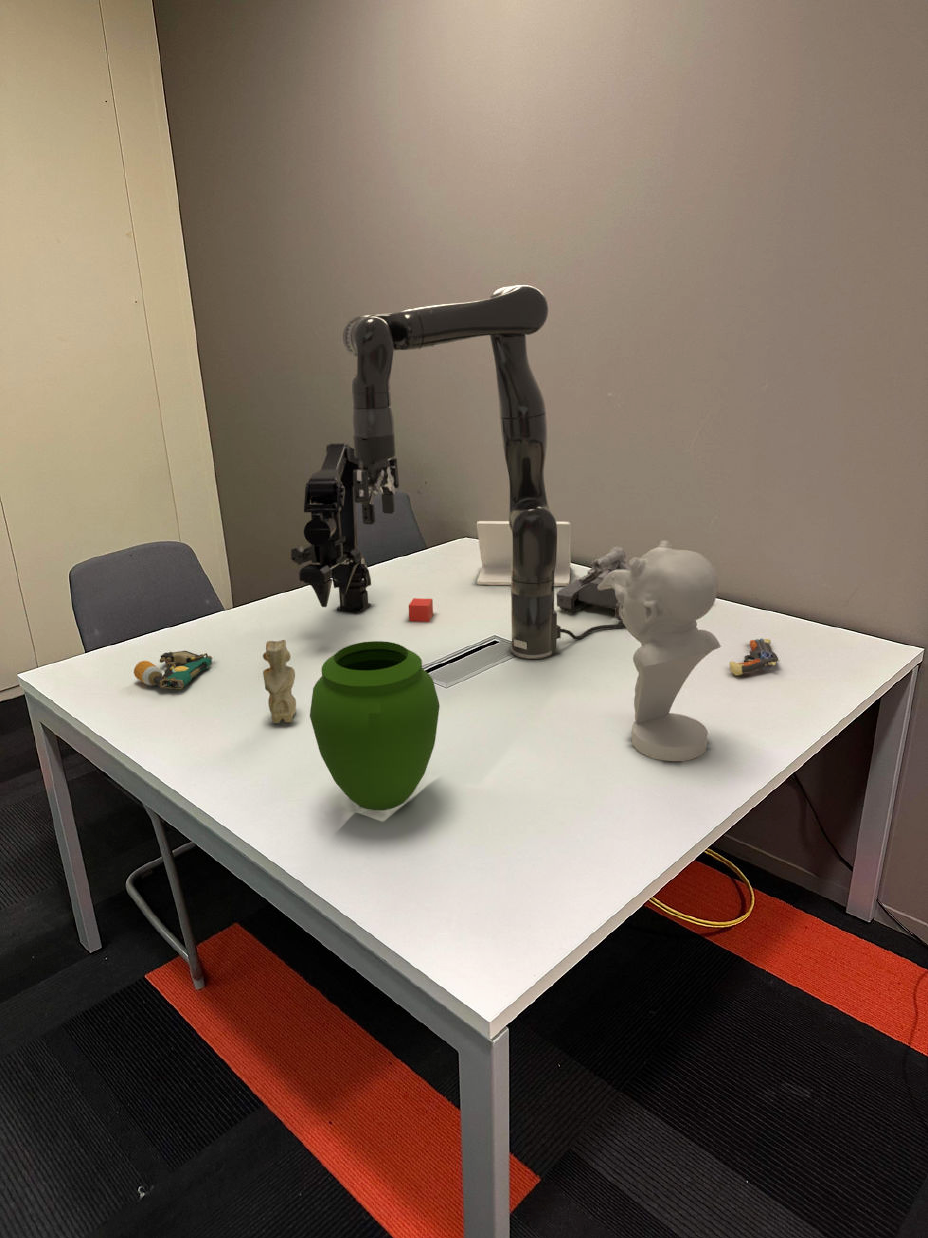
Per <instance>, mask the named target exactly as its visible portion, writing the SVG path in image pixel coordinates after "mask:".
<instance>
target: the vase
mask: <svg viewBox="0 0 928 1238" xmlns="http://www.w3.org/2000/svg"><path fill="white" fill-rule="evenodd" d="M310 702H311V703H310V710H309V718H310V722H311V727H312V729H313V733H314V736H315V740H316V744H317V747H318V750H319V753H320V757H321V759H322V760H323V762H324V764H325V766H326V768H327V770H328V771H329V773H330V775H331V777H332V779H333V781H334V783H335V784H336V785H337V786H338V787H339V789H340V790H341V791H342V792H343V793H344V794H345V796H346V797H347V798H348V799H349V800H350V801H352V802H353V803H354V804H356V805H357V806H358V807H359V808H362V809H365V810H368V811H387V810H391V809H394V808H397V807H400V806H401V805H403V804H404V803H405V802H406V801H407V800H408V799H409V798H410V797H411V796H412V795H413V794H414V793H415V790H416V789H417V787H418V785H419V784H420V782H421V780H423V777H424V776H425V773H426V771H427V769H428V766H429V762H430V759H431V757H432V754H433V751H434V748H435V745H436V739H437V738H436V737H437V729H438V722H439V713H440V707H441V706H440V701H439V697H438V694H437V690H436V687H435V682H434V679H433V677H432V676H431V674H429V673H428V672H427V671H426V670H425V669H424V668H423V661H422V658H421V657H420V656H419V655H418V654H417V653H416V652H414V651H412V650H410V649H408V648H406V647H405V646H403V645H401V644H399V643H396V642H390V641H381V640H380V641H379V640H378V641H377V640H376V641H375V640H373V641H364V642H363V641H362V642H357V643H353V644H350V645H347V646H344V647H342V648H341V649H339V650H338V651H336V652H335V653H334V654H333V655H331V656H330V657H329V658H328V659H326V660H325V661H324V662H323V664H322V666H321V676H320V678H319V679H318V680H317V681H316V683H315V684H314V686H313V687H312V694H311V701H310Z"/></svg>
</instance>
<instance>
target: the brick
mask: <svg viewBox="0 0 928 1238" xmlns="http://www.w3.org/2000/svg"><path fill="white" fill-rule="evenodd" d="M433 602H434V601H433V598H416V597H414V598H413V597H412V599H411V601H410V603H409V604H408V619H409V622H420V623H430V621H431V619H432V617H433V616H434V603H433Z"/></svg>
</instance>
